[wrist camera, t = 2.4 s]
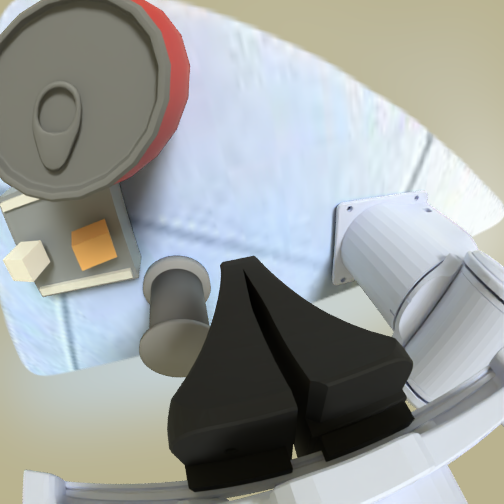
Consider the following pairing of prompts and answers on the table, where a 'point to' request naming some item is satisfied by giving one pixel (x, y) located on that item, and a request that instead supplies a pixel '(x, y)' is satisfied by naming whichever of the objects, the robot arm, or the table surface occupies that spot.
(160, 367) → the cord spool
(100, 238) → the orange cube
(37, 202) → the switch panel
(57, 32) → the beer can
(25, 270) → the cream cube
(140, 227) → the table surface
